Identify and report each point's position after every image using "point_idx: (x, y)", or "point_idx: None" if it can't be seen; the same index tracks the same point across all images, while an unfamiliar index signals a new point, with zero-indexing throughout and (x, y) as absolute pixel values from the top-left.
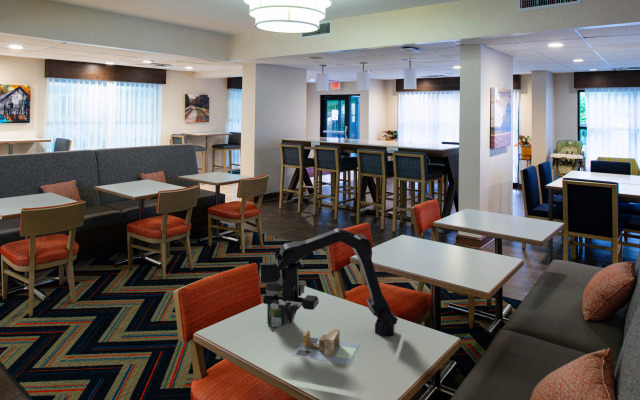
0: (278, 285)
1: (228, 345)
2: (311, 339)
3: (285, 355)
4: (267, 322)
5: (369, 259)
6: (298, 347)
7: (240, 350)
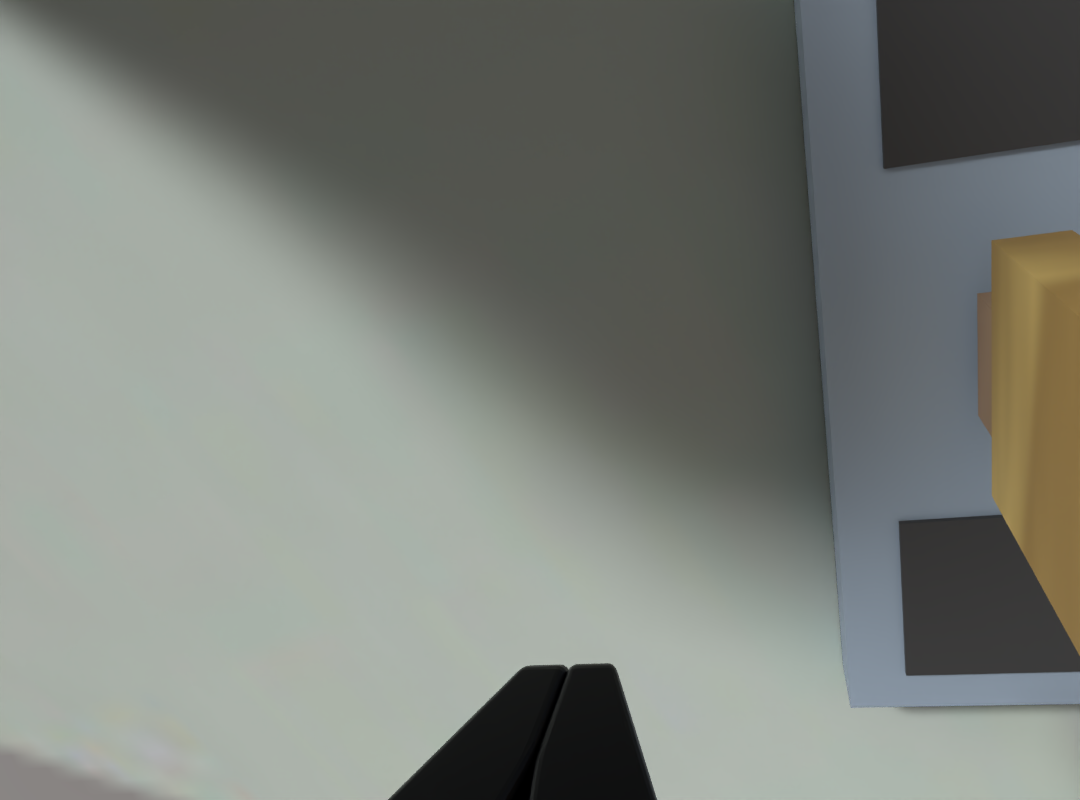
0: None
1: None
2: (1012, 5)
3: (691, 620)
4: None
5: None
6: (848, 453)
7: (52, 698)
